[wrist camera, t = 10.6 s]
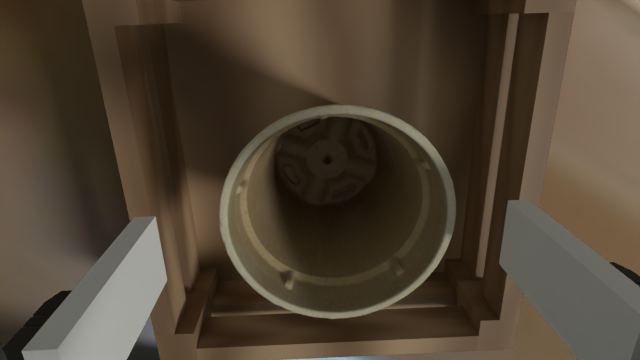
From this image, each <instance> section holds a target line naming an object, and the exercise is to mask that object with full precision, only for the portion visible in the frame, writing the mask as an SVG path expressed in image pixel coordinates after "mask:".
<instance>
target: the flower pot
mask: <svg viewBox="0 0 640 360" xmlns="http://www.w3.org/2000/svg"><path fill="white" fill-rule="evenodd" d="M317 118H318V119H319V122H318V123H317V124H315V125H312V126H310V127H308V128H306V129H304V130H301V129H300V128H299V124H301V123H304V122H306V121H310V120H312V119H317ZM360 132H362V133H363V135H364V136H365V138H366V140H367V143H368V148H367V149H365V148H364V146H363V144H362V143H360V142H359V141H360V138H359V135H358V134H359V133H360ZM325 157H330V158H331V161H330V162H329V163H325V162H324V159H325ZM286 166H289V167H291V169H292V172H293V175H294V176H295V178H296V179H297V181H298V183H297V184H294V182H293V181H291V180H290V179H289V177H288V176H287V174H286V173H285V171H284V168H285V167H286ZM351 186H354V187H355V190H354V191H352V193H351V194H349V195H346V196H344V197H336V194H337V193H340V192H342V191H344V190H346V189H348V188H350V187H351ZM455 219H456V198H455V192H454V187H453V182H452V179H451V177H450V174H449V171H448V169H447V167H446V165H445V163H444V162H443V159H442V158H441V156H440V155H439V153H438V152H437V150H436V149H435V148H434V146H433V145H432V144H431V143H430V142H429V141H428V139H427V138H426V137H425V136H424V135H422V134H421V133H420V132H419V131H418V130H416V129H415V128H414V127H412V126H411V125H409V124H408V123H406V122H405V121H403V120H401V119H399V118H397V117H395V116H393V115H391V114H389V113H386V112H383V111H380V110H377V109H374V108H370V107H365V106H359V105H343V104H334V105H324V106H316V107H312V108H308V109H304V110H300V111H297V112H295V113H292V114H290V115H287V116H285V117H283V118H281V119H279V120H278V121H276V122H274V123H272V124H271V125H269V126H268V127H267V128H265V129H264V130H262V131H261V132H260V133H259V134H258V135H257V136H255V137H254V138H253V139H252V140H251V141H250V142H249V143H248V144H247V145H246V147H245V148H244V149H243V150H242V151H241V152H240V154H239V155H238V157H237V158H236V160H235V161H234V163H233V165H232V167H231V169H230V171H229V173H228V175H227V177H226V180H225V183H224V186H223V190H222V194H221V198H220V205H219V222H220V231H221V235H222V240H223V242H224V245H225V247H226V251H227V254H228V256H229V257H230V259H231V261H232V263H233V264H234V266H235V268H236V269H237V271H238V272H239V273H240V275H241V276H242V277H243V278H244V279H245V281H246V282H247V283H248V284H249V285H250V286H251V287H252V288H253V289H254V290H255V291H257V292H258V293H259V294H261V295H262V296H263V297H265V298H267V299H268V300H269V301H271V302H272V303H274V304H276V305H278V306H281V307H283V308H285V309H287V310H290V311H292V312H295V313H298V314H302V315H307V316H312V317H319V318H330V319H336V318H337V319H339V318H349V317H356V316H362V315H366V314H369V313H371V312H375V311H378V310H381V309H383V308H385V307H387V306H389V305H391V304H393V303H395V302H397V301H399V300H400V299H402V298H404V297H405V296H407V295H408V294H410V293H411V292H412V291H414V290H415V289H416V288H417V287H418V286H420V285H421V284H422V283H423V282H424V281H425V280H426V279H427V277H428V276H430V274H431V273H432V272H433V271H434V269H435V268H436V267H437V265H438V264H439V262H440V260H441V259H442V257H443V255H444V254H445V251H446V250H447V247H448V245H449V242H450V239H451V237H452V234H453V231H454V225H455Z"/></svg>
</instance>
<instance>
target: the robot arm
mask: <svg viewBox="0 0 640 360" xmlns="http://www.w3.org/2000/svg"><path fill="white" fill-rule="evenodd" d="M499 264H500V266H501V267H502V268H503V269H504V270H505V272H506V273H507V274H508V275H509V276H510V278H511V279H512V280H513V281H514V283H515V284H516V285H517V286H518V287H519V289H520V290H521V291H522V292H523V293H524V295H525V296H526V297H527V298H528V300H529V301H530V302H531V303H532V304H533V306H534V307H535V308H536V309H537V311H538V312H539V313H540V314H541V315H542V317H543V318H544V319H545V320H546V321H547V323H548V324H549V325H550V326H551V328H552V329H553V330H554V331H555V332H556V334H557V335H558V336H559V337H560V339H561V340H562V341H563V342H564V343H565V345H566V346H567V347H568V348H569V349H570V351H571V352H572V353H573V354H574V356H575V357H576V358H577V359H578V360H640V276H638V275H637V274H636V273H634V272H633V271H631V270H629V269H627V268H625V267H623V266H620V265H618V264H616V263H614V262H610V263H609V262H607V261H606V260H605V259H604V258H602V257H601V256H600V255H598V254H597V253H596V252H595V251H593V250H592V249H591V248H589V247H588V246H587V245H586V244H584V243H583V242H582V241H580V240H579V239H578V238H577V237H575V236H574V235H573V234H572V233H570V232H569V231H568V230H566V229H565V228H564V227H563V226H561V225H560V224H559V223H557V222H556V221H555V220H554V219H552V218H551V217H550V216H548V215H547V214H546V213H545V212H543V211H542V210H541V209H540V208H538V207H537V206H536V205H534V204H533V203H532V202H531V201H529V200H508V204H507V211H506V218H505V225H504V232H503V239H502V246H501V253H500V260H499ZM166 282H167V275H166V270H165V265H164V259H163V254H162V248H161V243H160V238H159V232H158V227H157V222H156V216H148V217H134V218H133V219H132V220H131V222H130V223H129V224H128V225H127V226H126V228H125V229H124V230H123V231H122V232H121V233H120V235H119V236H118V237H117V238H116V239H115V241H114V242H113V243H112V244H111V245H110V247H109V248H108V249H107V250H106V251H105V252H104V254H103V255H102V256H101V257H100V258H99V260H98V261H97V262H96V263H95V264H94V266H93V267H92V268H91V269H90V270H89V271H88V273H87V274H86V275H85V276H84V277H83V279H82V280H81V281H80V282H79V283H78V284H77V286H76V287H75V288H74V289H73V290H72V291H61V292H59V293H58V294H56V295H55V296H53V297H52V298H50V299H49V300H47V301H46V302H44V304H43V305H42V306H41V307H40V308H39V309H38V310H37V311H36V312H35V313H34V315H33V317H32V318H30V319H29V320H28V321H27V322H26V323H25V325H24V327H23V328H21V329H20V330H19V331H18V332H17V333H16V334H15V336H14V337H13V338H12V339H11V340H10V341H9V342H8V343H7V344H6V345H5V347H4V348H2V345H1V342H0V360H127V358H128V356H129V354H130V352H131V350H132V348H133V346H134V345H135V343H136V341H137V339H138V337H139V335H140V333H141V331H142V329H143V327H144V325H145V323H146V321H147V319H148V317H149V315H150V313H151V311H152V309H153V307H154V305H155V303H156V301H157V299H158V297H159V296H160V294H161V292H162V290H163V288H164V286H165V284H166Z"/></svg>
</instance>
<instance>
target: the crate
mask: <svg viewBox="0 0 640 360" xmlns="http://www.w3.org/2000/svg"><path fill="white" fill-rule="evenodd" d="M576 1H577V0H82V3H83V8H84V12H85V17H86V21H87V26H88V31H89V35H90V40H91V44H92V49H93V54H94V58H95V63H96V67H97V72H98V77H99V81H100V86H101V90H102V95H103V100H104V104H105V109H106V113H107V118H108V123H109V127H110V132H111V136H112V141H113V146H114V150H115V155H116V159H117V164H118V169H119V173H120V178H121V182H122V187H123V192H124V196H125V201H126V205H127V210H128V215H129V219H130V222H131V220H132V219H133V218H134V217H148V216H156V222H157V227H158V232H159V238H160V243H161V248H162V254H163V259H164V265H165V270H166V275H167V282H166V284H165V286H164V288H163V290H162V292H161V294H160V296H159V297H158V299H157V301H156V303H155V305H154V307H153V309H152V311H151V313H150V316H151V320H152V325H153V329H154V334H155V339H156V343H157V348H158V352H159V357H160V360H283V359H305V358H327V357H349V356H371V355H393V354H415V353H437V352H459V351H481V350H503V349H513V347H514V342H515V336H516V331H517V325H518V320H519V314H520V309H521V303H522V298H523V292H522V291H521V290H520V289H519V287H518V286H517V285H516V284H515V283H514V281H513V280H512V279H511V278H510V276H509V275H508V274H507V273H506V272H505V270H504V269H503V268H502V267H501V266H500V264H499V260H500V253H501V246H502V239H503V232H504V225H505V218H506V211H507V204H508V200H529V201H531V202H532V203H533V204H534V205H536V206H537V207H538V208H539V204H540V199H541V193H542V188H543V182H544V177H545V171H546V166H547V160H548V155H549V149H550V144H551V138H552V133H553V127H554V122H555V116H556V111H557V105H558V100H559V94H560V89H561V83H562V78H563V72H564V67H565V61H566V56H567V50H568V45H569V39H570V34H571V28H572V23H573V17H574V12H575V6H576ZM334 104H343V105H359V106H365V107H370V108H374V109H377V110H380V111H383V112H386V113H389V114H391V115H393V116H395V117H397V118H399V119H401V120H403V121H405V122H406V123H408V124H409V125H411V126H412V127H414V128H415V129H416V130H418V131H419V132H420V133H421V134H422V135H424V136H425V137H426V138H427V139H428V141H429V142H430V143H431V144H432V145H433V146H434V148H435V149H436V150H437V152H438V153H439V155H440V156H441V158H442V159H443V162H444V163H445V165H446V167H447V169H448V171H449V174H450V177H451V179H452V182H453V187H454V192H455V198H456V219H455V225H454V231H453V234H452V237H451V239H450V242H449V245H448V247H447V250H446V251H445V254H444V255H443V257H442V259H441V260H440V262H439V264H438V265H437V267H436V268H435V269H434V271H433V272H432V273H431V274H430V276H428V277H427V279H426V280H425V281H424V282H423V283H422V284H421V285H420V286H418V287H417V288H416V289H415V290H414V291H412V292H411V293H410V294H408V295H407V296H405V297H404V298H402V299H400V300H399V301H397V302H395V303H393V304H391V305H389V306H387V307H385V308H383V309H381V310H378V311H375V312H371V313H369V314H366V315H362V316H356V317H349V318H339V319H337V318H336V319H330V318H319V317H312V316H307V315H302V314H298V313H295V312H292V311H290V310H287V309H285V308H283V307H281V306H278V305H276V304H274V303H272V302H271V301H269V300H268V299H267V298H265V297H263V296H262V295H261V294H259V293H258V292H257V291H255V290H254V289H253V288H252V287H251V286H250V285H249V284H248V283H247V282H246V281H245V279H244V278H243V277H242V276H241V275H240V273H239V272H238V271H237V269H236V268H235V266H234V264H233V263H232V261H231V259H230V257H229V256H228V254H227V251H226V247H225V245H224V242H223V240H222V235H221V231H220V222H219V205H220V198H221V194H222V190H223V186H224V183H225V180H226V177H227V175H228V173H229V171H230V169H231V167H232V165H233V163H234V161H235V160H236V158H237V157H238V155H239V154H240V152H241V151H242V150H243V149H244V148H245V147H246V145H247V144H248V143H249V142H250V141H251V140H252V139H253V138H254V137H255V136H257V135H258V134H259V133H260V132H261V131H262V130H264V129H265V128H267V127H268V126H269V125H271V124H272V123H274V122H276V121H278V120H279V119H281V118H283V117H285V116H287V115H290V114H292V113H295V112H297V111H300V110H304V109H308V108H312V107H316V106H324V105H334ZM318 122H319V119H318V118H317V119H312V120H310V121H306V122H304V123H301V124H299V128H300V129H301V130H304V129H306V128H308V127H310V126H312V125H315V124H317V123H318ZM358 135H359V138H360V141H359V142H360V143H362V144H363V146H364V148H365V149H367V148H368V143H367V140H366V138H365V136H364V135H363V133H362V132H360V133H359V134H358ZM330 161H331V158H330V157H325V159H324V162H325V163H329V162H330ZM284 171H285V173H286V174H287V176H288V177H289V179H290V180H291V181H293V182H294V184H297V183H298V181H297V179H296V178H295V176H294V175H293V172H292V169H291V167H289V166H286V167H285V168H284ZM354 190H355V187H354V186H351V187H350V188H348V189H346V190H344V191H342V192H340V193H337V194H336V197H344V196H346V195H349V194H351V193H352V191H354Z"/></svg>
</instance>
